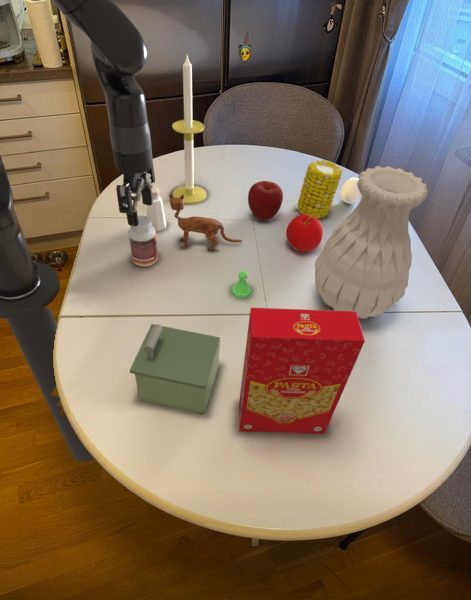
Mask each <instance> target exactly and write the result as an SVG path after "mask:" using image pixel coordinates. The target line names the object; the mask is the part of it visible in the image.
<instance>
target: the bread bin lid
mask: <svg viewBox="0 0 471 600" xmlns="http://www.w3.org/2000/svg"><path fill="white" fill-rule="evenodd" d="M219 342H220V343H221V337H220V336H215V335H209V334H206V333H205V334H204V333H201V332H195V331H189V330H185V329H180V328H174V327H171V326H165V325H161V324H157V323H156V324H155V323H151V325H150V327H149V329H148V331H147V333H146V335H145V337H144V339H143V341H142V343H141V345H140V348H139V350H138V351H137V354H136V356H135V358H134V360H133V362H132V365H131V366H130V369H129V373H130V374H133V375H135V374H137V375H142V376H146V377H151V378H156V379H160V380H165V381H170V382H174V383H179V384H184V385H189V386H193V387H198V388H203V389H205V388H206V384H207V381H208V378H209V375H210V371H211V368H212V365H213V362H214V358H215V355H216V352H217V348H218V345H219Z"/></svg>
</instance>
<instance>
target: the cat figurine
mask: <svg viewBox="0 0 471 600" xmlns="http://www.w3.org/2000/svg"><path fill="white" fill-rule="evenodd" d="M183 199H184V195H182V196H181V197H179V198H177V197H176V198H175V197H174V196H173V194H171V193H170V194H169V203H170V204H169V205H170V207H171V210H172V211H176V212H175V213H174V218H176V219H177V226H178V227H179V229H181V231H183V237H180V241H182V242H183V241H184V243H183V244H182V245H180V246H179V248H180V249H185V248H187V247H188V245H189V233H190V232H192V233H197V234H198V233H199V234H204V235H205V237H206V239H207V240H208V241H209V242H210V243H212V244H211V247H208V248H207V250H209V251H212V250H214V249H215V248H216V246H218V245H219V241H218V240H217V238H216V236H217V234H218V232H219V234H220V236H221V238H222V239H223V240H224V241H226V242H228V243H242V242H243V240H241V239H232V238H229V237H227V236H226V234H225V228H224V225H223V224H222V222H220V221H219V220H218V219H216V218H211V217H203V216H189V217H180V216H179V215H180V213H181V211H182V210H184V208H185V203H184V200H183Z"/></svg>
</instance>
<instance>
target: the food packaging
mask: <svg viewBox="0 0 471 600" xmlns="http://www.w3.org/2000/svg"><path fill="white" fill-rule="evenodd" d="M246 335H247V336H246V343H245V352H244V359H243V367H242V375H241V384H240V392H239V401H238V432H239V433H240V432H242V433H243V432H245V433H246V432H247V433H282V434H317V435H318V434H319V435H320V434H321V435H323V434H324V435H325V434H326V431H327V430H328V427H329V425H330V422H331V420H332V418H333V417H334V414H335V411H336V409H337V406H338V404H339V402H340V399H341V397H342V395H343V393H344V390H345V388H346V386H347V383H348V381H349V379H350V376H351V374H352V372H353V369H354V367H355V365H356V363H357V360H358V358H359V355H361V351H362V349H363V346H364V344H365V342H366V340H365V336H364V332H363V329H362V326H361V322H360V318H358V315H357V312H356V311H334V310H330V309H329V310H328V309H327V310H326V309H301V308H277V307H253V306H252V307H250V310H249V319H248V325H247V334H246Z"/></svg>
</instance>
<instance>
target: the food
mask: <svg viewBox="0 0 471 600" xmlns="http://www.w3.org/2000/svg"><path fill="white" fill-rule="evenodd" d="M342 174H343V170H342V168H341V167H340V166H339V165H337V164H336V163H335V162H334V163H333V162H332V161H331V160H326V159H323V160H319V159H317V160H315V161H311V162H310V163H309V164H308V167H307V170H306V173H305V176H304V179H303V183H302V186H301V189H300V193H299V198H298V200H297V205H296V206H297V207H296V210H297V211H298V212H299V214H305V215H310V216H313V217H315V218H317V219H318V220H320V219H324V218H326V217H327V216H328V215H329V212H330V210H331V207H332V203H333V201H334V199H335V197H336V193H337V189H338V186H339V184H340V181H341V178H342Z"/></svg>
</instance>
